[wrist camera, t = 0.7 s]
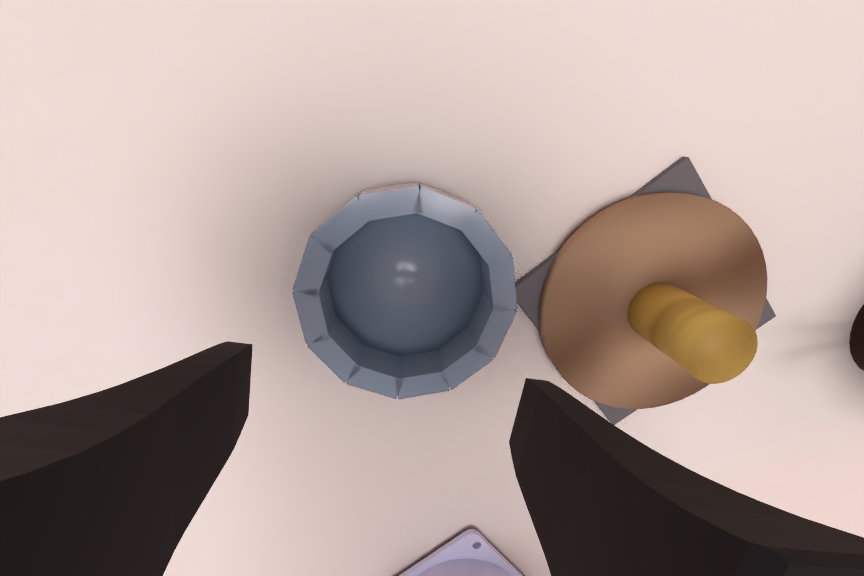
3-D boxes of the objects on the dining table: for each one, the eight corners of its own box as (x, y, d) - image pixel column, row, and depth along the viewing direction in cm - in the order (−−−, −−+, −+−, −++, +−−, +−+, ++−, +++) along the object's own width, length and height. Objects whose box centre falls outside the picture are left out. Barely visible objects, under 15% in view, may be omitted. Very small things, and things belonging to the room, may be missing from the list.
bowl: (534, 291, 21) (555, 313, 19) (394, 396, 23) (393, 432, 20) (421, 140, 19) (425, 139, 16) (269, 267, 20) (248, 287, 17)
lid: (788, 317, 22) (900, 365, 17) (609, 436, 24) (665, 512, 19) (693, 140, 19) (795, 138, 14) (494, 290, 21) (525, 335, 16)
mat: (769, 313, 23) (776, 316, 22) (609, 421, 24) (613, 425, 24) (682, 156, 20) (688, 157, 20) (507, 289, 21) (509, 291, 21)
